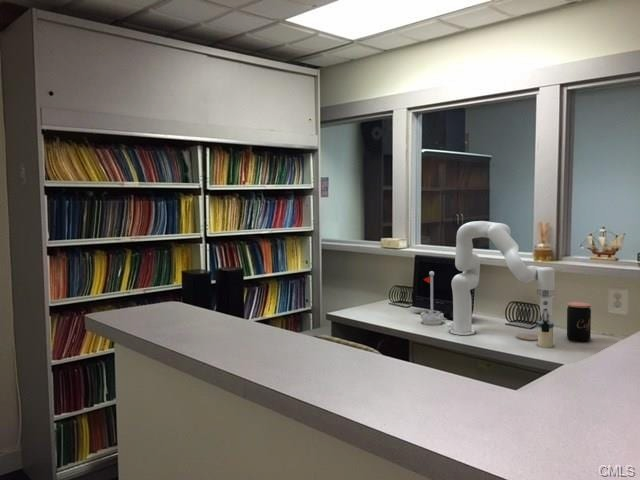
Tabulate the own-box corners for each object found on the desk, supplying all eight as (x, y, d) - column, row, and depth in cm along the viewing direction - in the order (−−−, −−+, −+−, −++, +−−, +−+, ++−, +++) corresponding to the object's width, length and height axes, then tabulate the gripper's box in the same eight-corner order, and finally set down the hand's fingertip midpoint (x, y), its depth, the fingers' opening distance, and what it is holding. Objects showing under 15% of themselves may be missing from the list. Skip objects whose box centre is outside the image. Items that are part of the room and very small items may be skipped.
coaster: (514, 338, 271) (514, 337, 271) (521, 334, 280) (521, 333, 280) (536, 341, 265) (536, 340, 264) (543, 337, 273) (543, 336, 273)
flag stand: (446, 321, 313) (445, 270, 311) (440, 326, 302) (439, 273, 300) (424, 319, 319) (423, 269, 317) (417, 324, 308) (417, 272, 306)
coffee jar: (577, 343, 260) (578, 306, 259) (561, 338, 270) (562, 302, 269) (595, 341, 263) (596, 305, 262) (579, 336, 273) (579, 301, 272)
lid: (550, 328, 252) (550, 324, 252) (535, 326, 257) (535, 322, 257) (555, 326, 257) (555, 322, 257) (541, 324, 262) (541, 320, 262)
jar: (536, 346, 257) (536, 324, 256) (540, 343, 262) (540, 321, 261) (550, 348, 253) (550, 326, 252) (554, 345, 258) (554, 323, 257)
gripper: (554, 296, 246) (554, 334, 248) (554, 290, 262) (554, 326, 263) (536, 295, 249) (536, 333, 251) (537, 289, 265) (537, 325, 266)
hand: (545, 329), depth 257 cm, fingers closed on lid, 6 cm apart
